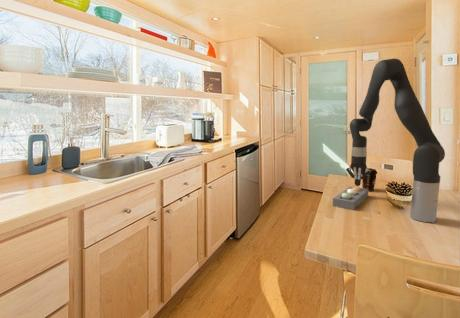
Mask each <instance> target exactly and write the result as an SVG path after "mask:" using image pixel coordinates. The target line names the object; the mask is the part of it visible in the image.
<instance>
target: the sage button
mask: <svg viewBox="0 0 460 318" xmlns="http://www.w3.org/2000/svg"><path fill="white" fill-rule="evenodd" d="M342 199H347V200H351V194H350V193H342Z"/></svg>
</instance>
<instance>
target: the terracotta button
mask: <svg viewBox="0 0 460 318" xmlns="http://www.w3.org/2000/svg"><path fill="white" fill-rule="evenodd" d="M353 187H354V188H352V189H355V190H356V191H359V192H361V188H362V187H358V186H356V187H355V186H353Z"/></svg>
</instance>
